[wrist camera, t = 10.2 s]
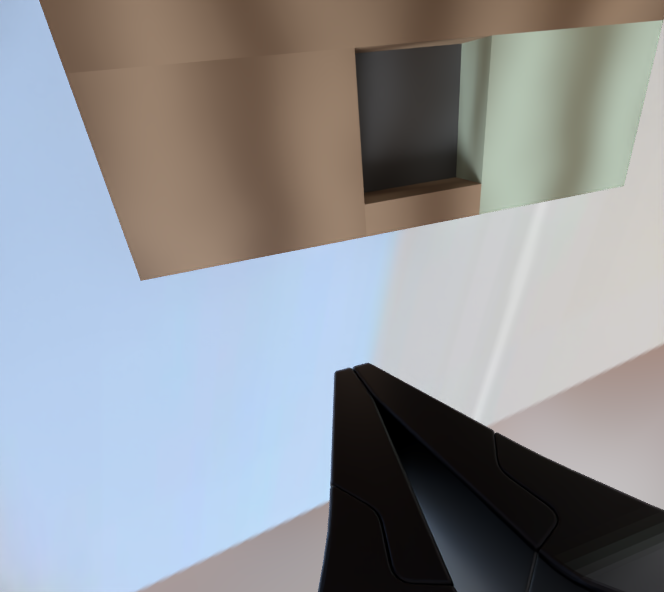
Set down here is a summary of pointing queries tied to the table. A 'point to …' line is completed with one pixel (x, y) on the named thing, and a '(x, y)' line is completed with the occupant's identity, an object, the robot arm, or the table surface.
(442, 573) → the robot arm
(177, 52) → the trap deck
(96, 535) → the table surface
